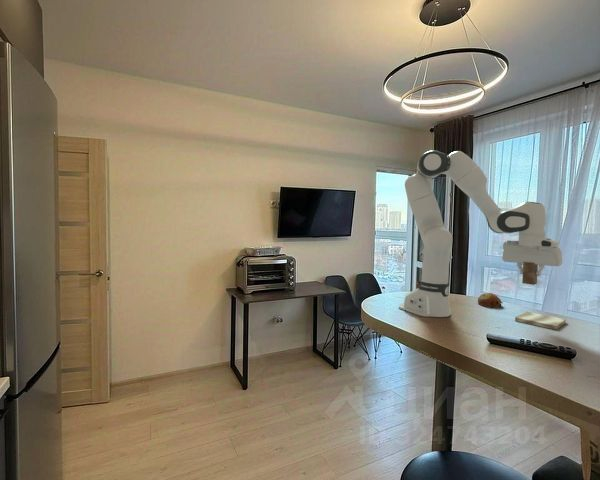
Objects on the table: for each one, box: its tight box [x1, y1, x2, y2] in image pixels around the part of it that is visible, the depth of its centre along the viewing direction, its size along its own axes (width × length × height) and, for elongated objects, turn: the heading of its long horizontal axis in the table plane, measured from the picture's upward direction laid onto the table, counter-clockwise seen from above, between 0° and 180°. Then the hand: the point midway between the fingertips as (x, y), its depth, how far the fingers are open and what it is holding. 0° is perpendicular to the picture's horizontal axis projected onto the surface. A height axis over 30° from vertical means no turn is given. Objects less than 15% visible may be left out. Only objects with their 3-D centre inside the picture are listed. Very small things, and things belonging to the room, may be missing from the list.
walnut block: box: [522, 262, 539, 285], centre depth 133 cm, size 4×4×9 cm
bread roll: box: [477, 292, 503, 309], centre depth 161 cm, size 10×10×8 cm
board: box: [514, 311, 567, 331], centre depth 135 cm, size 14×14×2 cm
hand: (530, 274), depth 133 cm, fingers closed on walnut block, 4 cm apart
